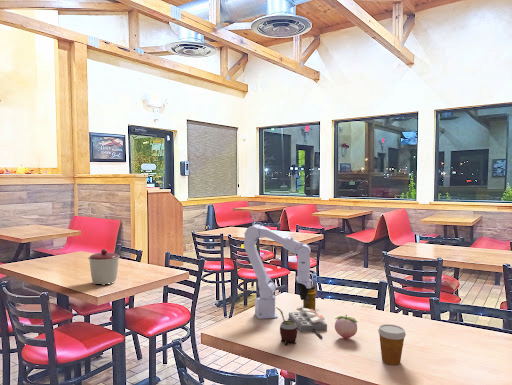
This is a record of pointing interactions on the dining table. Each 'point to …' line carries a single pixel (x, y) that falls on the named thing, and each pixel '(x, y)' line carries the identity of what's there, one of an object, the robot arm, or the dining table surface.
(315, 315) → the rocker middle
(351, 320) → the decorative fruit
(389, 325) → the disposable coffee cup
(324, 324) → the rocker switch panel
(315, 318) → the rocker near camera
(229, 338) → the dining table surface
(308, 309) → the rocker near arm
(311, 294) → the condiment
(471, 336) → the dining table surface
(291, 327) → the mate gourd
